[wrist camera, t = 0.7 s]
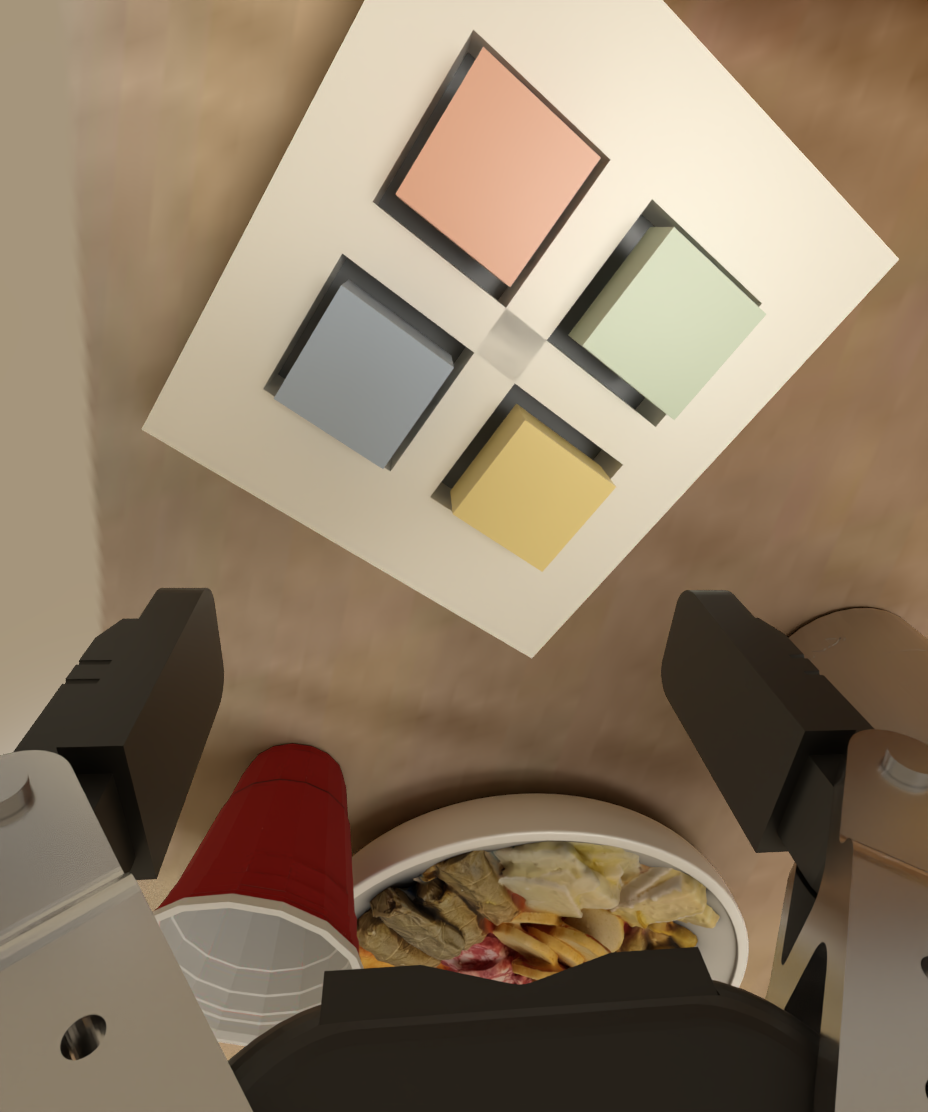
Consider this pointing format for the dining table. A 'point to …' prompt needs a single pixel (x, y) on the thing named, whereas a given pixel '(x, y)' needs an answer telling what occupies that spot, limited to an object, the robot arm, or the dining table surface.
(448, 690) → the dining table surface
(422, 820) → the bowl
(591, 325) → the key sage
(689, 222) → the keypad board
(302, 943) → the plastic cup
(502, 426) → the key mustard
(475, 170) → the key terracotta
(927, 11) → the dining table surface
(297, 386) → the key slate
